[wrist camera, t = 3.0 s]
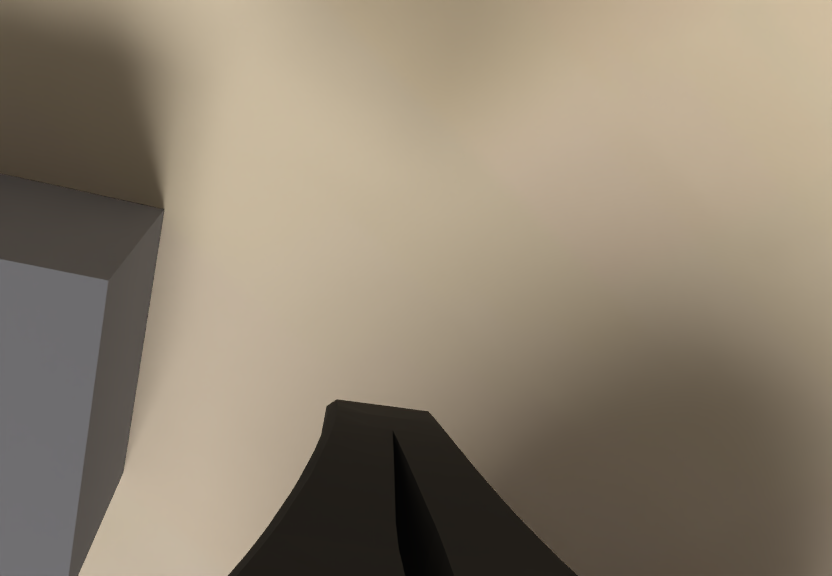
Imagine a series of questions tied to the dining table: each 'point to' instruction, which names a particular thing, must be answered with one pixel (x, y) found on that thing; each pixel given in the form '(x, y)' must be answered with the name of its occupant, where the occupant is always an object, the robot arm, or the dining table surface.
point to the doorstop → (67, 364)
